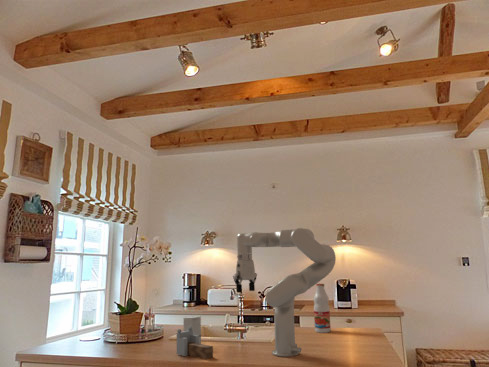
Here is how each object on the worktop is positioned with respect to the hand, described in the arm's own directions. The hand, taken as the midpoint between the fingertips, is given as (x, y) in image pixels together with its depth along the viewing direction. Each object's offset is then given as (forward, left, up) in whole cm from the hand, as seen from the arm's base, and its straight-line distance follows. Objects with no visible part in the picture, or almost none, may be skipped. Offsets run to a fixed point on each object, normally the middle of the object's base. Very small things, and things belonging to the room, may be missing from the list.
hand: (245, 291), depth 207 cm
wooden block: (+11, +22, -28) cm, 38 cm away
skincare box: (+30, +10, -28) cm, 43 cm away
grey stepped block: (+19, +23, -28) cm, 41 cm away
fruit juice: (-5, -63, -28) cm, 69 cm away
